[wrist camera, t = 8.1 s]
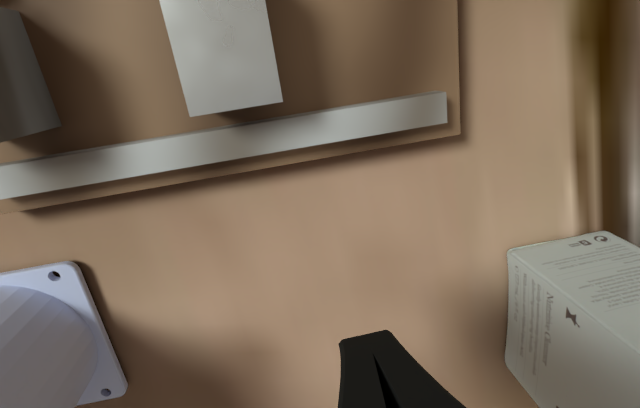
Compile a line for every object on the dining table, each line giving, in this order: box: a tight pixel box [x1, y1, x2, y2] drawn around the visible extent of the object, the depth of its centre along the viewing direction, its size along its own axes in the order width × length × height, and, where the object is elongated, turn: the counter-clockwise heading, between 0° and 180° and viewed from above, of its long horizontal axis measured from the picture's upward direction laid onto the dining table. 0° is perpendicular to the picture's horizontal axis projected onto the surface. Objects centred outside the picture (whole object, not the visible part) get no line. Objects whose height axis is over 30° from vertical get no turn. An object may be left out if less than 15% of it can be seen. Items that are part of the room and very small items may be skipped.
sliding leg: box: [159, 0, 283, 117], centre depth 13 cm, size 3×6×3 cm, turn 9°
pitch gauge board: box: [0, 0, 460, 214], centre depth 13 cm, size 20×10×6 cm, turn 98°
